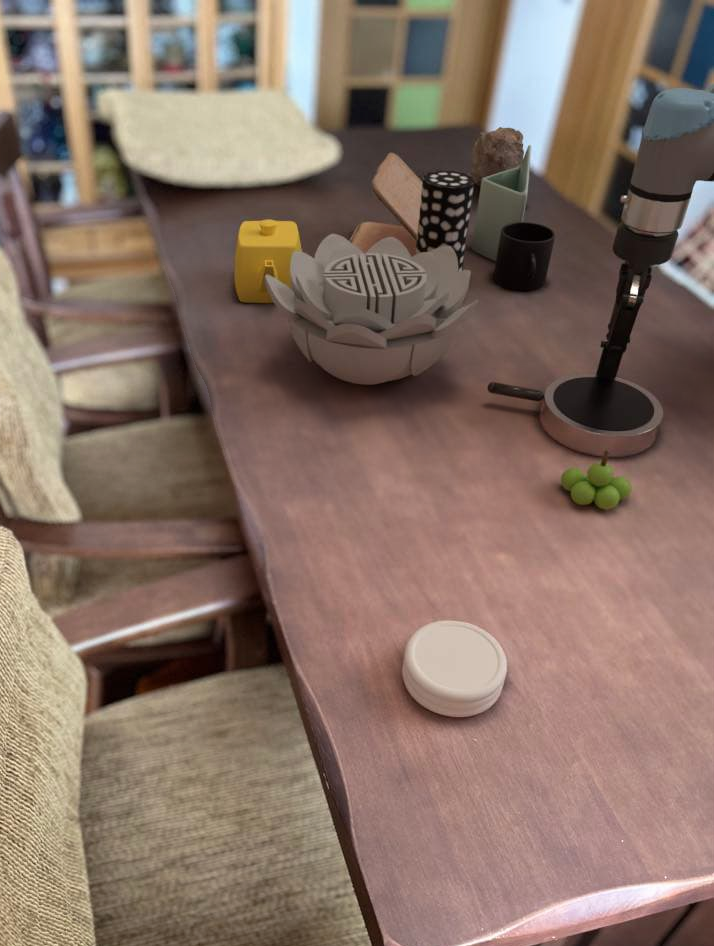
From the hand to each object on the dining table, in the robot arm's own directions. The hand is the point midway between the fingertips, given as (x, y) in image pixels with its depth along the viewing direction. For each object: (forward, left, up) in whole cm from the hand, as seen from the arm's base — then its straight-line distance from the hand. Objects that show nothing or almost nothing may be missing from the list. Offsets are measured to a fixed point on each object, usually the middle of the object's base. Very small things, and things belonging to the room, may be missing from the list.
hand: (603, 384), depth 122 cm
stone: (+27, -79, -2) cm, 83 cm away
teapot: (+58, -17, -2) cm, 61 cm away
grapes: (0, +26, -2) cm, 26 cm away
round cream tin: (+12, +60, -2) cm, 62 cm away
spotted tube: (+30, -25, -2) cm, 39 cm away
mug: (+16, -34, -2) cm, 38 cm away
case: (+40, -41, -2) cm, 57 cm away
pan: (+4, +9, -2) cm, 10 cm away
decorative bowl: (+36, +3, -2) cm, 36 cm away
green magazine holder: (+23, -48, -2) cm, 53 cm away
